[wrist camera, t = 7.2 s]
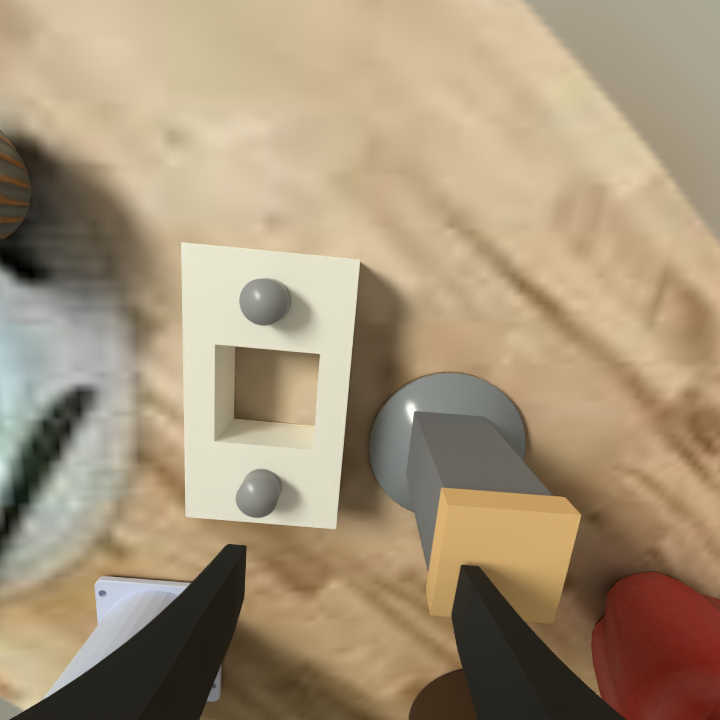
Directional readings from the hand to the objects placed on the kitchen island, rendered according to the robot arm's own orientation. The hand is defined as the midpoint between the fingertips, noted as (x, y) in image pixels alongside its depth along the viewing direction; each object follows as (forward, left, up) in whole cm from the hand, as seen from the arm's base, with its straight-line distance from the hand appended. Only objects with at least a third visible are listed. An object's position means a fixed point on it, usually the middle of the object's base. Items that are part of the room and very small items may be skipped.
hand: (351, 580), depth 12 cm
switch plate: (+4, +5, -10) cm, 12 cm away
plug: (+1, -5, -9) cm, 11 cm away
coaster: (+1, -5, -10) cm, 11 cm away
